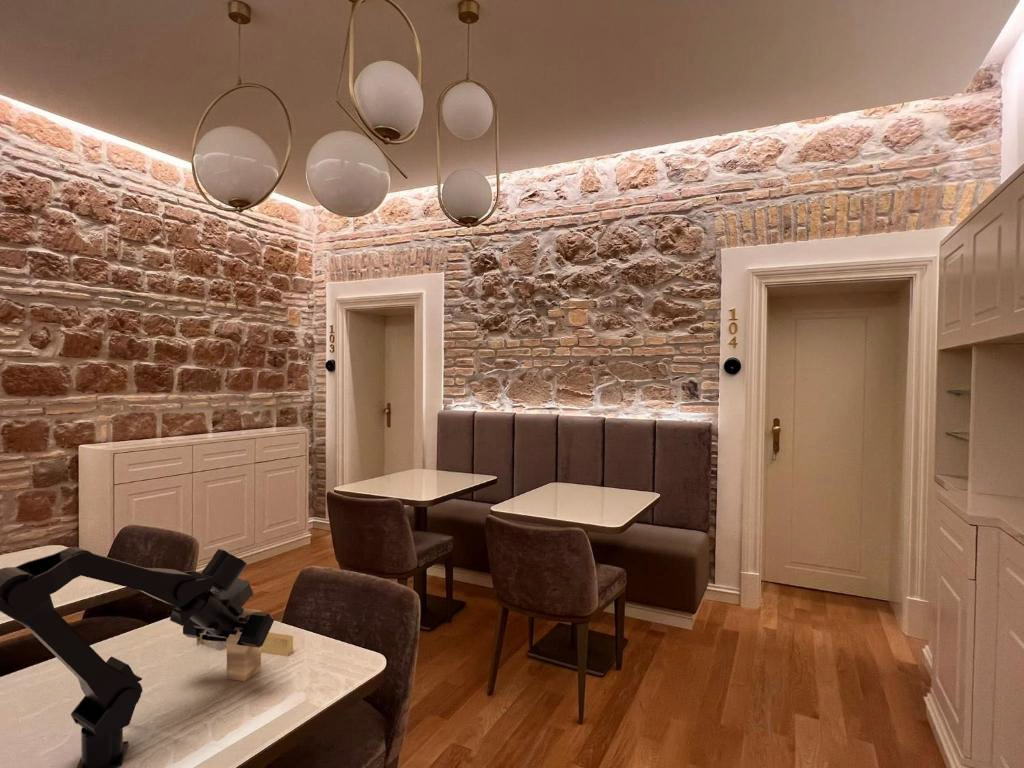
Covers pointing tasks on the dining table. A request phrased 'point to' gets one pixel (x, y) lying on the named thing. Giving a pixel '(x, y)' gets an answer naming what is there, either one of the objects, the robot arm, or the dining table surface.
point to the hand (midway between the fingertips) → (248, 640)
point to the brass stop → (278, 644)
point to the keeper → (242, 656)
